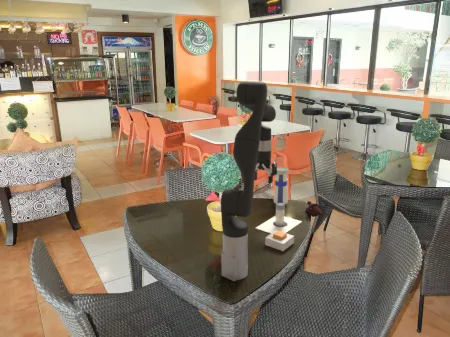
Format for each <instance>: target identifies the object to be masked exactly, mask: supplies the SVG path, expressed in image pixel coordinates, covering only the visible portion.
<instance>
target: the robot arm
mask: <svg viewBox="0 0 450 337" xmlns="http://www.w3.org/2000/svg"><path fill="white" fill-rule="evenodd" d="M267 97H268V85H267V84H266V82H264V81H254V80H253V81H248V80H247V81H241V82H239V83H238V84H237V88H236V99H237V102H238V104H239V105H240V106H243V107H245V108H247V109H249V110H250V111H252V113H251V115H250V116H249V118H248V119H247V121H246V122H244V124H243V125H242V127H241V128H239V130H238V131H237V133H236V134H235V136H234V142H233V147H232V148H233V149H232V157H233V160H234V162H235V164H236V165H237V168H238V169H239V172H240V174H241V176H242V180H243V190H241V189H240V190H239V189H232V188H231V189H229V188H227V189H224V190H223V191H222V193H221V196H220V213H221V215H220V216H221V228H222V252H221V256H220V257H221V259H220V260H221V263H220V264H221V277H224V278H226V279H228V280H230V281H233V282H236V281H241V280H243V279H245V278H246V277H247V276H248V275H249V274H248V273H249V272H248V271H249V270H248V269H249V264H248V261H249V260H248V259H249V256H248V255H249V250H248V249H249V226H248V224H247V223H246V222H245V221H243V220H242V219H241V218H239V217H243V218H248V217H249V216H250V215H251V213H252V209H253V202H254V201H253V200H254V191H255V190H254V189H255V181H257V180H258V170H259V171H260V170H262V171H264V172H266V173H267V174H268V177H267V179H268V181H267V182H268V184H269V185H270V184H272V183H273V181H274V176H276V174H277V167H278V164H277V161H276V162H275V161H274V162H272V160H271V159H272V128H271V127H270V126H266V125H263V124H262V122H263V123H264V122H265V123H270V122H271V123H272V122H273V121H274V120H275V119H276V116H277V112H276V109H275V106H272V105H271V104H269V103H267Z"/></svg>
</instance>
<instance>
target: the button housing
mask: <svg viewBox="0 0 450 337" xmlns="http://www.w3.org/2000/svg"><path fill="white" fill-rule="evenodd" d="M275 232H277V230H276V231H274V232H273V233H271V234H270V233H269V234H268V235H267V236H266V237H265V238H264V239H265V240H264V244H265V246H267V247H270V248H273V249H276V250H279V251H281V252H284V251H285V250H287V249H288V248H289V247H292V245H293V244H295V235H292V234H289V233H287V237H286V238H285V239H283V240H282V241H281V240H279V239H276V238H273V234H274V233H275Z"/></svg>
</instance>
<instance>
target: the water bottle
mask: <svg viewBox="0 0 450 337" xmlns="http://www.w3.org/2000/svg"><path fill="white" fill-rule="evenodd" d="M277 160H278V158H277V157H275V158H274V160H273V161H274V163H275V162H276V163H277ZM289 173H290V168H288V167H284V166H277V174H276V175H275V177H274V183H273V184H274V193H273V194H274V195H273V203H274V204H275V205H276V204H277V203H283V204H285V205H287V204H288V203H289V201H288V198H289V197H288V194H289V192H288V190H289V189H288V181H289V179H288V177H287V176H288V174H289Z"/></svg>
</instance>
